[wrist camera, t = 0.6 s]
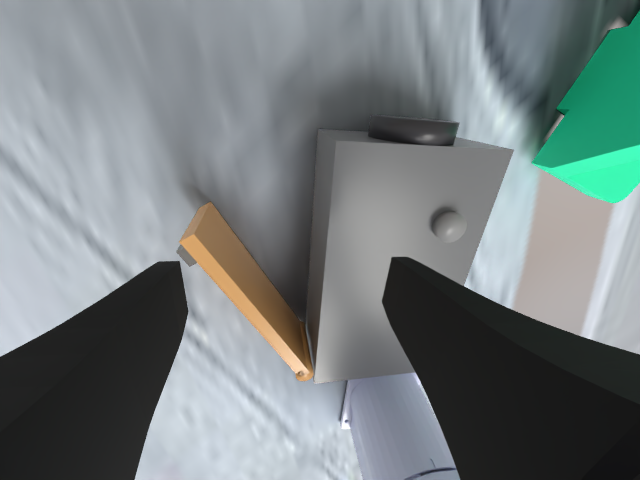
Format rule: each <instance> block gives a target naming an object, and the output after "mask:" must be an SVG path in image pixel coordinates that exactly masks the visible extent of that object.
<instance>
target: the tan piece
mask: <svg viewBox="0 0 640 480" xmlns="http://www.w3.org/2000/svg"><path fill="white" fill-rule="evenodd" d="M179 242H180V244H181V245H180V246H179V248H178V250H177V253H178V254H179V256H180V257H181V258H182V259H183V260H184V261H185V262H186V263H187V264H188V265H189V267H190V266H192V265H194V264H196V263H198V264H199V265H200V266H201V267H202V268H203V269H204V271H205V272H206V273H207V274H208V275H209V276H210V277H211V279H212V280H213V281H214V282H215V283H216V284H217V285H218V286H219V288H220V289H221V290H222V291H223V292H224V293H225V294H226V295H227V297H228V298H229V299H230V300H231V301H232V302H233V303H234V304H235V306H236V307H237V308H238V309H239V310H240V311H241V312H242V313H243V315H244V316H245V317H246V318H247V319H248V320H249V321H250V322H251V324H252V325H253V326H254V327H255V328H256V329H257V330H258V331H259V333H260V334H261V335H262V336H263V337H264V338H265V339H266V340H267V342H268V343H269V344H270V345H271V346H272V347H273V348H274V349H275V351H276V352H277V353H278V354H279V355H280V356H281V357H282V358H283V360H284V361H285V362H286V363H287V364H288V365H289V366H290V367H291V369H292V370H293V371H294V372H295V373H296V378H297V379H298V380H299V381H307V380H309V379H311V378H312V377H313V375H314V373H313V367H312V361H311V356H310V350H309V344H308V338H307V332H306V326H305V323H304V322H302V321H300V320H299V319H298V318H297V316H296V315H295V314H294V312H293V311H292V310H291V308H290V307H289V306H288V304H287V303H286V302H285V300H284V299H283V298H282V296H281V295H280V294H279V292H278V291H277V290H276V288H275V287H274V286H273V284H272V283H271V282H270V280H269V279H268V278H267V276H266V275H265V274H264V272H263V271H262V270H261V268H260V267H259V266H258V264H257V263H256V262H255V260H254V259H253V258H252V256H251V255H250V254H249V252H248V251H247V250H246V248H245V247H244V246H243V244H242V243H241V242H240V240H239V239H238V237H237V236H236V235H235V233H234V232H233V231H232V229H231V228H230V227H229V225H228V224H227V223H226V221H225V220H224V219H223V217H222V216H221V215H220V213H219V212H218V211H217V209H216V208H215V207H214V205H213V204H212V203H211V202H209V203H207V204H205V205H203V206H202V207H200V208H199V209H198V211H197V213H196V214H195V216H194V218H193V219H192V221H191V223H190V224H189V226H188V228H187V229H186V231H185V233H184V234H183V236H182V238H181V240H180V241H179Z"/></svg>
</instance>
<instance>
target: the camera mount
mask: <svg viewBox="0 0 640 480" xmlns="http://www.w3.org/2000/svg"><path fill="white" fill-rule="evenodd" d="M556 109H557V110H559V111H560V112H562V113H563V115H564V118H563V119H562V120H561V122H560V123H559V125H558V126H557V127H556V129H555V130H554V132H553V133H552V134H551V136H550V137H549V139H548V140H547V142H546V143H545V144H544V146H543V147H542V149H541V150H540V151H539V153H538V154H537V156H536V157H535V158H534V160H533V161H532V164H534V165H535V166H537V167H539V168H541V169H542V170H544V171H546V172H548V173H549V174H551V175H553V176H555V177H556V178H558V179H560V180H562V181H564V182H565V183H567V184H569V185H570V186H572V187H574V188H576V189H577V190H579V191H581V192H583V193H584V194H586V195H588V196H591V197H594V198H597V199H600V200H604V201H607V202H610V203H617V202H619V201H621V200H623V199H624V198H626V197H627V196H628V195H629V194H630V193H631V192H632V191H633V189H634V188H635V187H636V186H637V185H638V184H639V183H640V11H639V12H638V13H637V15H636V16H635V18H634V19H633V21H632V22H631V23H630V25H629V26H627V27H622V28H616V29H611V30H609V32H608V33H607V35H606V37H605V38H604V40H603V41H602V43H601V45H600V46H599V48H598V49H597V51H596V52H595V53H594V55H593V56H592V58H591V59H590V61H589V62H588V64H587V65H586V66H585V68H584V69H583V71H582V72H581V74H580V75H579V76H578V78H577V79H576V81H575V82H574V84H573V85H572V87H571V88H570V89H569V91H568V92H567V94H566V95H565V97H564V98H563V100H562V101H561V102H560V104H559V105H558V107H557V108H556Z"/></svg>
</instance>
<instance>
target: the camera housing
mask: <svg viewBox="0 0 640 480" xmlns="http://www.w3.org/2000/svg"><path fill="white" fill-rule="evenodd" d="M458 127H459V123H458V122H452V121H445V120H436V119H426V118H415V117H403V116H389V115H371V117H370V124H369V132H365V131H348V130H331V129H318V131H317V147H316V163H315V179H314V196H313V212H312V228H311V244H310V261H309V277H308V293H307V309H306V332H307V338H308V344H309V350H310V356H311V361H312V367H313V373H314V375H313V380H314V384H316V383H325V382H334V381H343V380H352V379H361V378H370V377H379V376H388V375H397V374H406V373H415V371H414V369H413V367H412V365H411V363H410V361H409V360H408V358H407V356H406V354H405V352H404V350H403V348H402V347H401V345H400V343H399V341H398V339H397V337H396V335H395V333H394V331H393V330H392V328H391V326H390V323H389V320H388V318H387V315H386V313H385V310H384V307H383V304H382V298H383V293H384V289H385V284H386V280H387V276H388V271H389V267H390V262H391V258H392V257H409V258H412V259H414V260H416V261H418V262H420V263H422V264H424V265H426V266H428V267H429V268H431V269H433V270H435V271H437V272H438V273H440V274H442V275H444V276H446V277H448V278H449V279H451V280H453V281H455V282H457V283H458V284H460V285H462V286H464V284H465V281H466V278H467V275H468V273H469V270H470V267H471V265H472V262H473V259H474V256H475V254H476V251H477V248H478V246H479V243H480V240H481V238H482V235H483V232H484V229H485V227H486V224H487V221H488V219H489V216H490V213H491V211H492V208H493V205H494V202H495V200H496V197H497V194H498V192H499V189H500V186H501V183H502V181H503V178H504V175H505V173H506V170H507V167H508V165H509V162H510V159H511V156H512V154H513V151H514V150H512V149H507V148H503V147H498V146H494V145H489V144H485V143H480V142H476V141H471V140H466V139H462V138H457V137H456V134H457V130H458Z"/></svg>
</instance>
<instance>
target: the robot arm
mask: <svg viewBox="0 0 640 480" xmlns="http://www.w3.org/2000/svg"><path fill="white" fill-rule="evenodd" d="M382 304H383V307H384V310H385V313H386V315H387V318H388V320H389V323H390V326H391V328H392V330H393V331H394V333H395V335H396V337H397V339H398V341H399V343H400V345H401V347H402V348H403V350H404V352H405V354H406V356H407V358H408V360H409V361H410V363H411V365H412V367H413V369H414V371H415V373H406V374H397V375H388V376H379V377H370V378H361V379H352V380H348V383H347V388H346V394H345V400H344V406H343V411H342V417H341V423H340V425H341V428H342V429H349V428H350V430H351V434H352V438H353V442H354V446H355V449H356V453H357V457H358V461H359V465H360V469H361V473H362V477H363V480H640V355H639V354H636V353H632V352H629V351H626V350H622V349H619V348H616V347H612V346H609V345H606V344H603V343H599V342H596V341H593V340H590V339H587V338H584V337H581V336H578V335H575V334H573V333H570V332H567V331H564V330H561V329H559V328H556V327H553V326H550V325H547V324H545V323H542V322H540V321H537V320H535V319H532V318H530V317H528V316H525V315H523V314H521V313H518V312H516V311H514V310H511V309H509V308H507V307H504V306H502V305H500V304H498V303H496V302H494V301H492V300H490V299H488V298H486V297H484V296H482V295H480V294H478V293H476V292H474V291H472V290H470V289H468V288H466V287H464V286H462V285H460V284H458V283H457V282H455V281H453V280H451V279H449V278H448V277H446V276H444V275H442V274H440V273H438V272H437V271H435V270H433V269H431V268H429V267H428V266H426V265H424V264H422V263H420V262H418V261H416V260H414V259H412V258H409V257H392V258H391V262H390V267H389V271H388V276H387V280H386V284H385V289H384V293H383V298H382ZM187 315H188V307H187V301H186V295H185V289H184V284H183V278H182V272H181V266H180V261H164V262H157V263H155V264H154V265H152V266H151V267H149V268H147V269H146V270H144V271H143V272H141V273H140V274H138V275H137V276H135V277H134V278H133V279H131V280H130V281H128V282H127V283H125V284H124V285H122V286H121V287H119V288H118V289H116V290H115V291H113V292H112V293H110V294H109V295H107V296H106V297H104V298H103V299H101V300H99V301H98V302H96V303H95V304H93V305H91V306H90V307H88V308H86V309H85V310H83V311H82V312H80V313H78V314H77V315H75V316H73V317H72V318H70V319H69V320H67V321H65V322H64V323H62V324H60V325H59V326H57V327H55V328H53V329H52V330H50V331H48V332H46V333H44V334H43V335H41V336H39V337H37V338H35V339H33V340H32V341H30V342H28V343H26V344H24V345H22V346H20V347H18V348H16V349H14V350H13V351H11V352H9V353H7V354H5V355H3V356H1V357H0V480H134V479H135V475H136V472H137V468H138V464H139V461H140V457H141V454H142V450H143V446H144V443H145V439H146V436H147V432H148V429H149V426H150V423H151V420H152V417H153V414H154V411H155V408H156V406H157V403H158V401H159V398H160V395H161V393H162V390H163V388H164V385H165V383H166V380H167V377H168V375H169V372H170V370H171V367H172V364H173V362H174V359H175V356H176V354H177V351H178V349H179V346H180V343H181V340H182V336H183V332H184V328H185V324H186V320H187ZM420 384H422V386H423V388H424V390H425V392H426V394H427V396H428V399H429V401H430V403H431V406H432V408H433V410H434V413H435V415H436V417H435V415H434V413H433V411H432V409H431V407H430V405H429V404H428V402H427V400H426V398H425V396H424V394H423V392H422V390H421V388H420ZM436 418H437V419H436ZM437 420H438V421H437ZM438 422H439V423H438Z"/></svg>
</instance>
